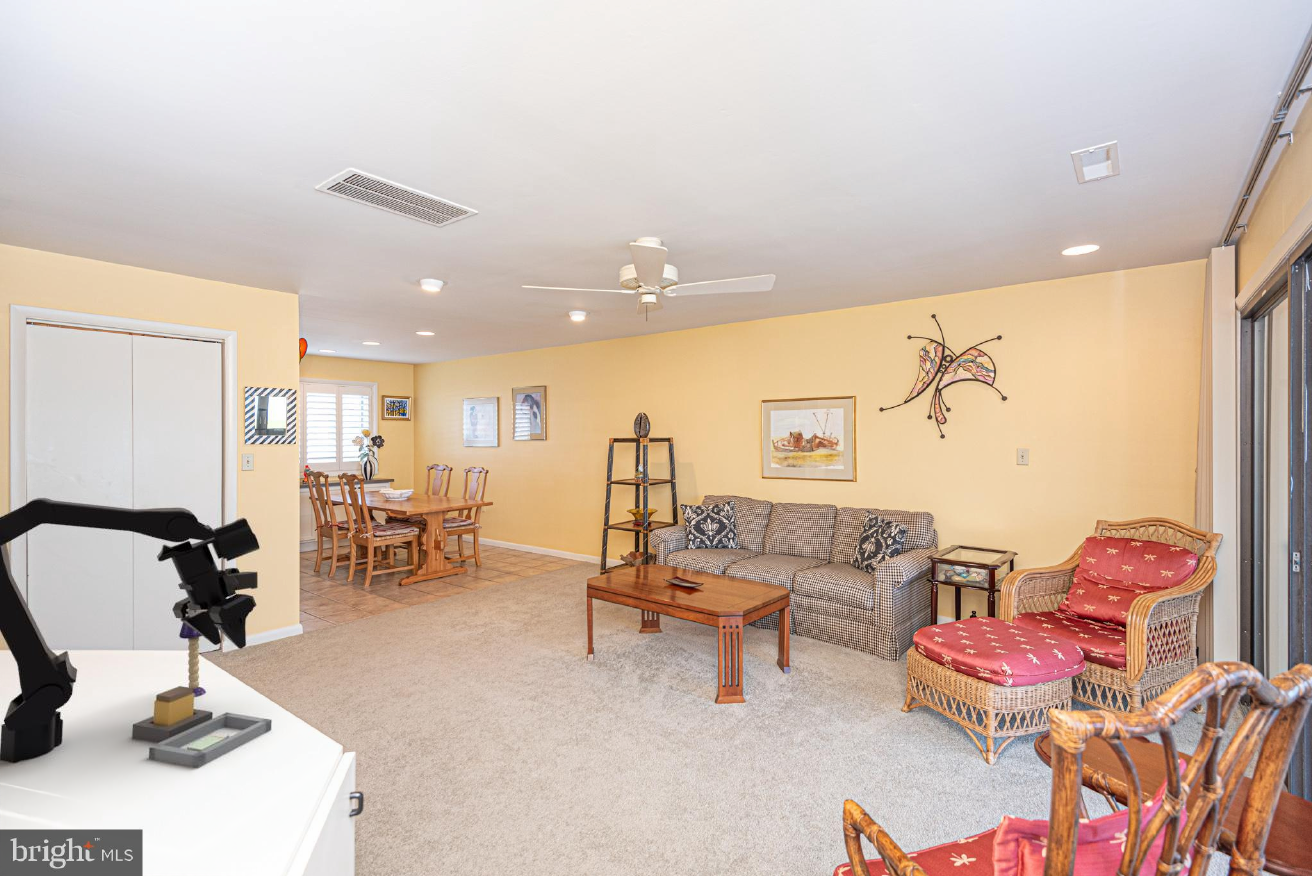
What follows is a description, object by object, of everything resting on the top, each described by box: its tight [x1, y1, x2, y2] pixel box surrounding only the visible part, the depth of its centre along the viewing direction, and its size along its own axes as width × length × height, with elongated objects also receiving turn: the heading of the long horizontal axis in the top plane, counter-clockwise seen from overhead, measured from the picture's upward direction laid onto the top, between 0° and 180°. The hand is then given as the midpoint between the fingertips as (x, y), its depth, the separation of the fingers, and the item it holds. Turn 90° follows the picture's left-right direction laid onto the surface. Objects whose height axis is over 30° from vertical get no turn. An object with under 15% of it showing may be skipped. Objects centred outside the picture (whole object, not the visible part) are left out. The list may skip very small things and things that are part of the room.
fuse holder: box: [131, 708, 214, 744], centre depth 111 cm, size 8×8×3 cm
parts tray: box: [148, 712, 273, 769], centre depth 107 cm, size 14×10×2 cm
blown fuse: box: [153, 685, 195, 726], centre depth 111 cm, size 5×3×7 cm
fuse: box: [186, 732, 230, 752], centre depth 104 cm, size 5×3×2 cm, turn 167°
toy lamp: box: [179, 622, 207, 698], centre depth 127 cm, size 5×5×17 cm
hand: (230, 645), depth 120 cm, fingers open, 9 cm apart
